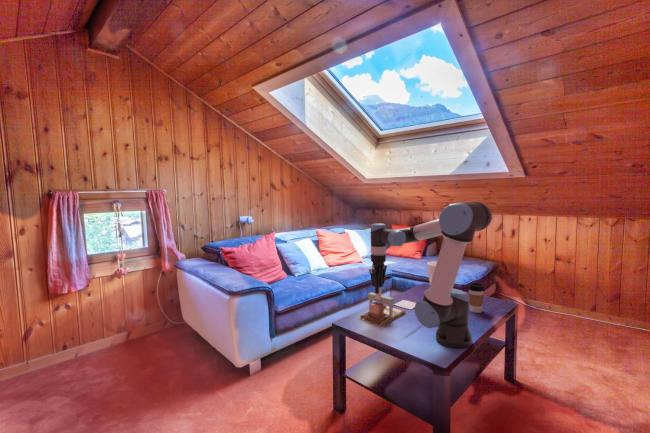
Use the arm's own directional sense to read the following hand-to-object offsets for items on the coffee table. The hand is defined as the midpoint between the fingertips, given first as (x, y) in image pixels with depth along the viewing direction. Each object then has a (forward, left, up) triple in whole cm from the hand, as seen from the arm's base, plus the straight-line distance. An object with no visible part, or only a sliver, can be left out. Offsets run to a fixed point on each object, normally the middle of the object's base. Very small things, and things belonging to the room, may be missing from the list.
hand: (378, 299), depth 167 cm
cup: (+45, -30, -12) cm, 56 cm away
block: (-1, +1, -10) cm, 10 cm away
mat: (+27, -13, -12) cm, 33 cm away
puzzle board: (+4, -2, -12) cm, 13 cm away
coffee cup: (+27, -50, -12) cm, 59 cm away
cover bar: (+2, -1, -9) cm, 9 cm away
